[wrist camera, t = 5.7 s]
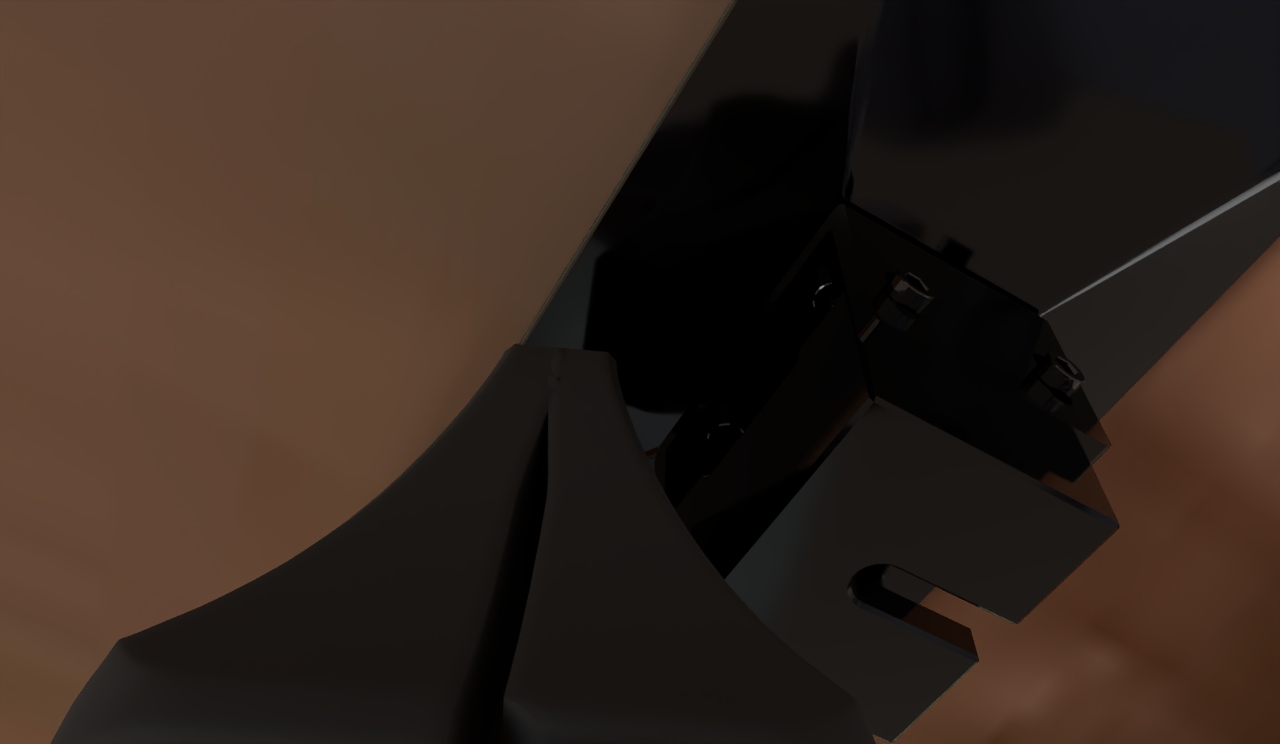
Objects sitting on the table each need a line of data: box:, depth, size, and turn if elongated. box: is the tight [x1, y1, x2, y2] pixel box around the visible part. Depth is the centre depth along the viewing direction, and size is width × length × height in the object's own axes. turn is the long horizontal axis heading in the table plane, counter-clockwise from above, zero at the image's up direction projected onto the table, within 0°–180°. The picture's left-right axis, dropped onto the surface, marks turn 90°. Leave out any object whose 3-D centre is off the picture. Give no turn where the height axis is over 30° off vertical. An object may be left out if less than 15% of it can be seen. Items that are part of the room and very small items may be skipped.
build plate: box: [520, 0, 1280, 742], centre depth 14 cm, size 12×7×5 cm, turn 150°
